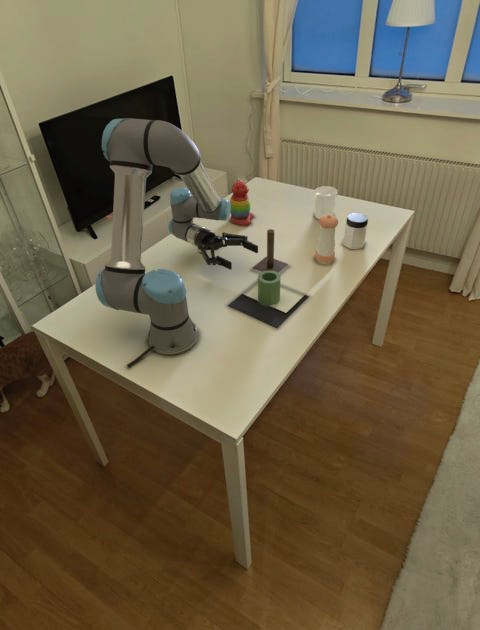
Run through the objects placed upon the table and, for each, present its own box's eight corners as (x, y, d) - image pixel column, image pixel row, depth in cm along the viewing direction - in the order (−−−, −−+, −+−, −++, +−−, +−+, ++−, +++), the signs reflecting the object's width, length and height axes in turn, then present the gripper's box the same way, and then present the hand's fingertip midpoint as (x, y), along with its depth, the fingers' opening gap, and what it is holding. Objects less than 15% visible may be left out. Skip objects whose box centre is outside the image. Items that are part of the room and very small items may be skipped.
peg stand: (273, 279, 160) (274, 240, 150) (251, 270, 165) (251, 232, 154) (288, 266, 166) (290, 229, 155) (266, 258, 171) (267, 221, 160)
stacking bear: (249, 226, 191) (249, 188, 180) (227, 224, 193) (225, 186, 181) (254, 215, 199) (253, 177, 188) (232, 213, 201) (230, 176, 190)
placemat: (276, 328, 139) (276, 327, 139) (228, 305, 149) (228, 304, 149) (308, 296, 151) (308, 296, 151) (261, 278, 161) (261, 277, 160)
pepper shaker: (325, 267, 165) (330, 221, 152) (311, 259, 169) (314, 214, 157) (337, 260, 168) (343, 215, 156) (323, 252, 173) (328, 208, 160)
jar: (361, 251, 172) (366, 224, 165) (341, 247, 175) (344, 220, 167) (365, 240, 179) (370, 214, 171) (346, 237, 181) (349, 210, 174)
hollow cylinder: (271, 309, 146) (272, 285, 139) (254, 302, 149) (253, 278, 143) (283, 298, 150) (284, 275, 144) (266, 291, 154) (266, 268, 147)
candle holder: (309, 212, 199) (311, 188, 191) (328, 209, 201) (331, 184, 193) (318, 222, 192) (320, 197, 184) (338, 218, 194) (341, 193, 186)
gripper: (225, 233, 169) (267, 252, 158) (177, 260, 155) (219, 282, 144) (224, 216, 164) (267, 233, 153) (174, 242, 150) (218, 263, 139)
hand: (244, 257), depth 148 cm, fingers open, 13 cm apart
